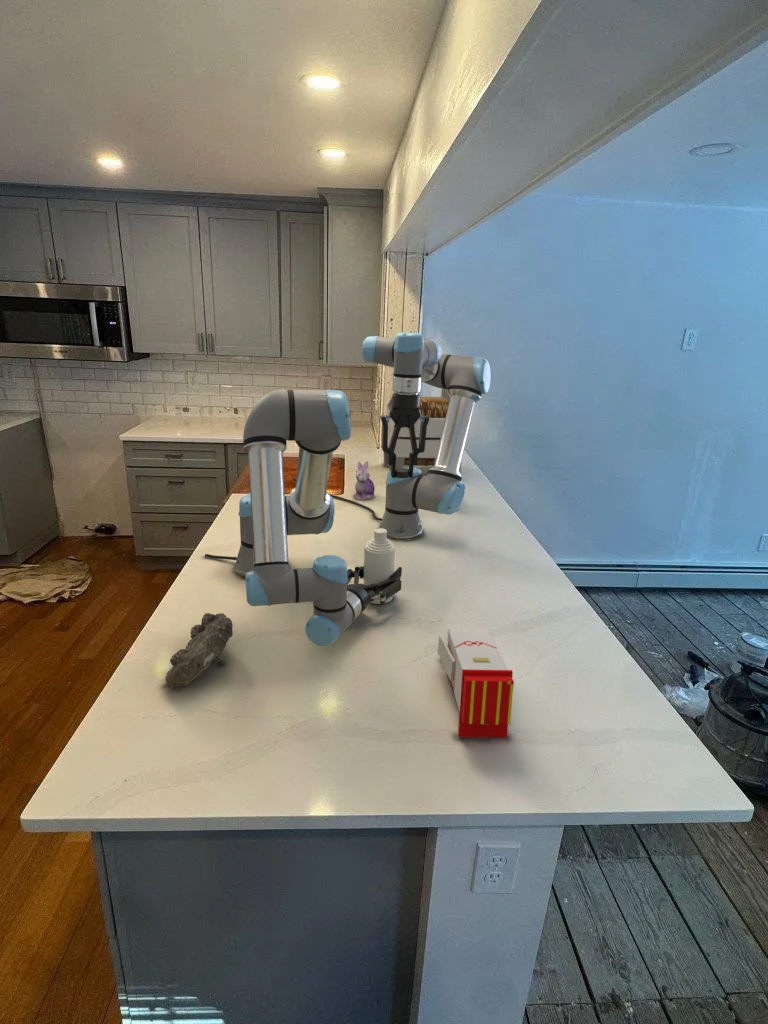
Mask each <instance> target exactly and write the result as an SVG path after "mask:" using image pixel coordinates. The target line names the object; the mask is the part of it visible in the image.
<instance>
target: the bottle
mask: <svg viewBox="0 0 768 1024" xmlns="http://www.w3.org/2000/svg"><path fill="white" fill-rule="evenodd" d="M373 533H374V536H373V538H372V539H370V540H368V541H367V542H366V543H365V545H364V553H363V566H364V577H363V578H362V584H364V585H370V584H373V583H374V584H378V583H380V582H383V581H386V580H388V579H390V576H391V575H392V574H393V573H394V572H395V560H396V545H395V544H394V543H393V542H392V541H391V540H390V539H389V538H387V537H386V536H387V530H386V529H383V528H379V527H378V528H375V529H374V530H373ZM393 597H394V595H393V596H391V597H390V598H388V599H387V600H386V601H385V603H384V604H386V603H390V602H391V601H392V600H393ZM369 604H376V605H382V604H381V603H380V601H379V600H374V601H372V602H370V603H369Z"/></svg>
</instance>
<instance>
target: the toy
mask: <svg viewBox="0 0 768 1024" xmlns="http://www.w3.org/2000/svg"><path fill="white" fill-rule="evenodd" d="M446 640H447V643H446V641H445V639H444V636H443V635H442V634H439V637H438V646H437V656H438V657H439V659H440V661H441V663H442V666H443V668H444V670H445V672H446V674H447V677H448V679H449V681H450V684H451V687H452V690H453V693H454V697H455V701H456V705H457V708H458V711H459V714H458V715H459V716H458V730H457V731H458V732H457V737H458V738H508V731H509V726H510V725H511V717H512V707H513V697H514V696H513V695H514V684H515V680H514V679H513V673H514V671H513V670H512V669H508V667H507V665H506V662H505V661H504V659H503V658H502V655H501V653H500V651H499V649H498V647H497V643H496V639H495V637H494V635H493V634H491V632H490V631H489V629H467V628H466V629H465V628H463V629H461V628H460V629H459V628H448V630H447V639H446Z"/></svg>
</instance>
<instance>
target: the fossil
mask: <svg viewBox="0 0 768 1024" xmlns="http://www.w3.org/2000/svg"><path fill="white" fill-rule="evenodd" d="M233 627H234V625H233V621H232V619H231V618H230V617H227V615H226V614H225V613H224V612H221V613H220V612H219V613H215V614H214V613H210V612H208V613H207V612H205V613H204V614H203V616H202V618H201V622H200V624H199V623H198V624H195V625H194V626H192V627H191V629H190V636H189V637H190V638H191V639H190V640H189V641H188V642H187V645H186V646H185V648H180V649H178V650H177V652H175V653H174V654H173V655H171V657H170V659H169V663H170V665H171V666H172V667H171V668H170V670H168V671H167V672H166V676H165V681H166V685H167V686H171V687H172V688H179V687H183V686H187V685H189V684H190V683H191V682H192V681H193V680H194V679H195V678H197V677H198V676H199V675H200V674H201V673H202V672H204V670H206V669H207V668H208V667H209V665H210V664H211V662H212V661H213V660H215V659H216V660H217V661H218V662H219V664H222V663H223V660H222V659H221V658H220V657H219V656H218V654H219V653H220V652H223V650H224V649H225V648H226V647H227V644H228V642H229V641H230V639H231V638H232V637H233V636H234V635H233V634H234V633H233V632H234V630H233Z"/></svg>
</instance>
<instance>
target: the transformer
mask: <svg viewBox="0 0 768 1024" xmlns="http://www.w3.org/2000/svg"><path fill="white" fill-rule="evenodd" d="M447 390H448V389H441V392H440V393H441V394H440V396H420V405H419V411H420V413H421V415H423V416H427V417H428V418H429V422H428V424H427V429H426V440H425V451H424V452H423V453H422V452H421V453H419V454H418V456H417V465H416V466H415V467H417V466H418V467H433V466H434V463H435V459H436V455H437V451H438V447H439V442H440V438H441V434H442V430H443V426H444V421H445V417H446V413H447V409H448V405H449V400H450V397H449V395H448V394H447ZM391 408H392V397H391V398H390V400H389V402H388V404H387V405H386V413H385V415H387V414H389V413H390V411H391ZM394 425H395V423H394V422H393V420H392V419H391V418H390V419H389V423H388V446H387V448H389V445H390V441H391V437H392V434H393V430H394ZM420 425H421V422H420V418H419V419H418V420H417V422H416V423H415V424H414V427H415V436H416V442H417V448H419V436H420ZM394 453H395V454H396V468H404V467H405V466H406V467H409V453H412V447H411V441H410V435H409V429H408V428H407V427H403V428H401V430H400V432H399V435H398V439H397V443H396V446H395V450H394ZM462 461H463V460H461V464H460V469H459V473H460V474H461V472H462ZM383 466H384V467H388V468H389V472H390V471H391V466H389V465H388V453H386V452H383ZM396 468H395V469H396ZM461 475H462V474H461Z"/></svg>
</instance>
